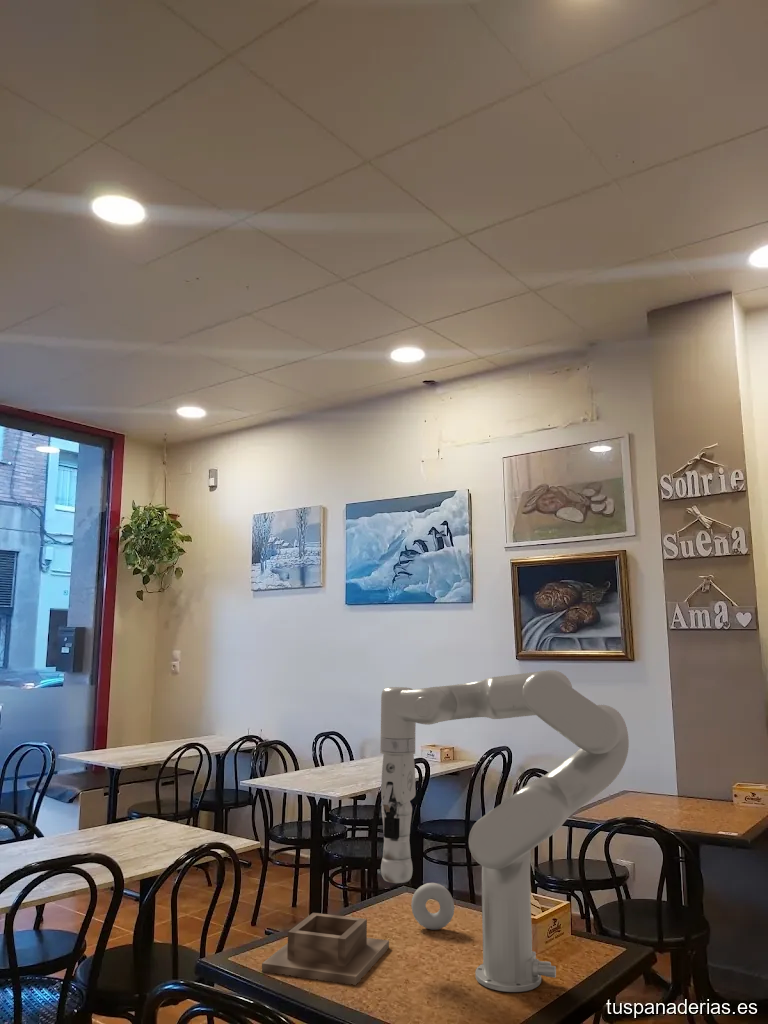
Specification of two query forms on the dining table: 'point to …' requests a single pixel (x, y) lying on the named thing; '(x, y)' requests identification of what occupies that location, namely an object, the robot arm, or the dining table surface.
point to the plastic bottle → (398, 849)
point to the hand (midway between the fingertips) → (396, 833)
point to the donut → (423, 915)
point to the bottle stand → (327, 950)
